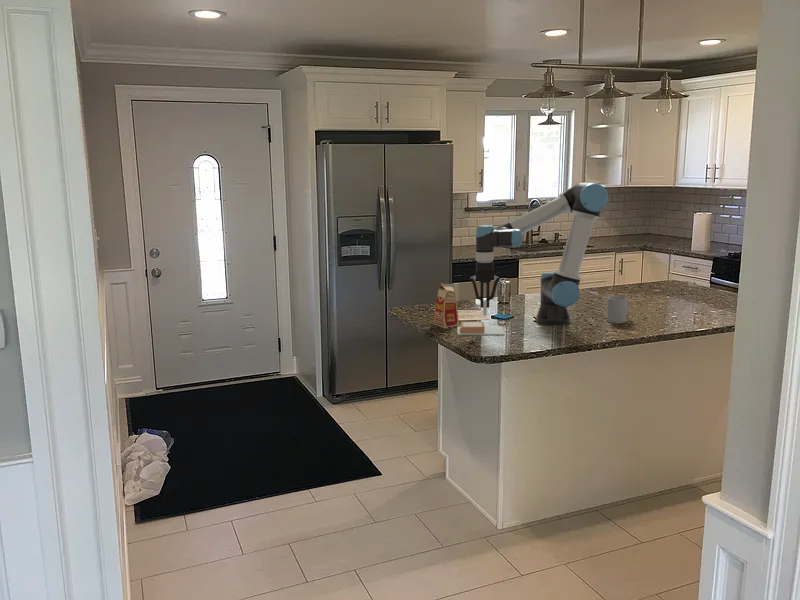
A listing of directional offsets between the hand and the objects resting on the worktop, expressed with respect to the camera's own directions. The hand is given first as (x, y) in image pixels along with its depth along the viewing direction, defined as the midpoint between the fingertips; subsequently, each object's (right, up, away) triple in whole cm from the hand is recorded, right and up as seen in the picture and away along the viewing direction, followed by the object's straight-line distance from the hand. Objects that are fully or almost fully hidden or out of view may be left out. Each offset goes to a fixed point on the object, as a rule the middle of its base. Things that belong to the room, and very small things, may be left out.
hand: (484, 314), depth 297 cm
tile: (0, -5, +1) cm, 6 cm away
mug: (+63, -3, +15) cm, 65 cm away
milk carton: (-16, -5, +15) cm, 22 cm away
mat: (-2, -7, +2) cm, 8 cm away
